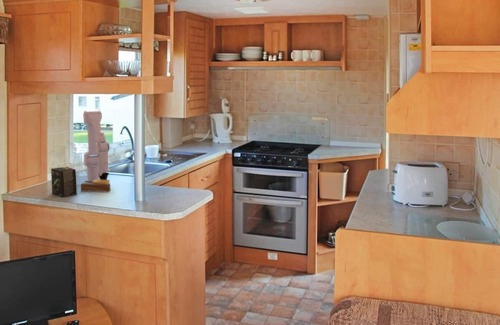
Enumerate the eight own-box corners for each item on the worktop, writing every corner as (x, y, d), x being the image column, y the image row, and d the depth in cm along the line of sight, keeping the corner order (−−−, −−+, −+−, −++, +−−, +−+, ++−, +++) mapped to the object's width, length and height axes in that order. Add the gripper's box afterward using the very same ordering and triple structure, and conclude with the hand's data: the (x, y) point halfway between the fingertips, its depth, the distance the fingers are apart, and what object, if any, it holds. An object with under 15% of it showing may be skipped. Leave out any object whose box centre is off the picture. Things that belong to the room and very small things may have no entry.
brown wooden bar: (82, 189, 291) (82, 182, 290) (110, 190, 291) (110, 183, 290) (81, 190, 288) (80, 184, 287) (108, 191, 288) (108, 184, 287)
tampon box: (77, 194, 279) (76, 169, 276) (61, 197, 272) (60, 171, 270) (67, 191, 286) (66, 166, 284) (51, 194, 279) (50, 168, 277)
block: (96, 187, 297) (96, 179, 296) (109, 188, 297) (109, 179, 296) (92, 189, 291) (92, 181, 290) (106, 190, 291) (106, 181, 290)
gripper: (106, 165, 288) (106, 188, 291) (113, 160, 302) (113, 182, 305) (93, 164, 288) (94, 187, 291) (101, 160, 302) (102, 182, 305)
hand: (103, 185), depth 298 cm, fingers closed
